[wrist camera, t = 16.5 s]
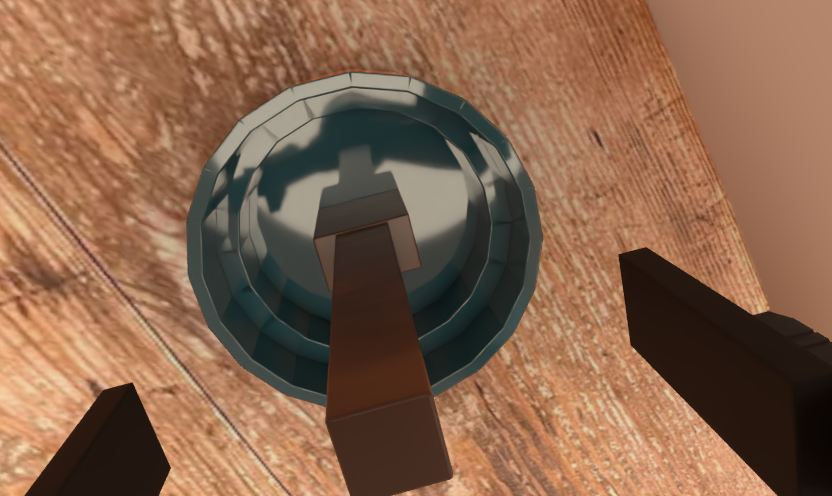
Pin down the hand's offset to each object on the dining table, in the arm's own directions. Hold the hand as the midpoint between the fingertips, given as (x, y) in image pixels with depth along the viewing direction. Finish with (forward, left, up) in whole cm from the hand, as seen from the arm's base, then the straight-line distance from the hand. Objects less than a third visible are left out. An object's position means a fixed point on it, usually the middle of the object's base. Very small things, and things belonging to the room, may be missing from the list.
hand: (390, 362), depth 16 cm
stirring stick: (0, 0, -14) cm, 14 cm away
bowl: (0, 0, -15) cm, 15 cm away
